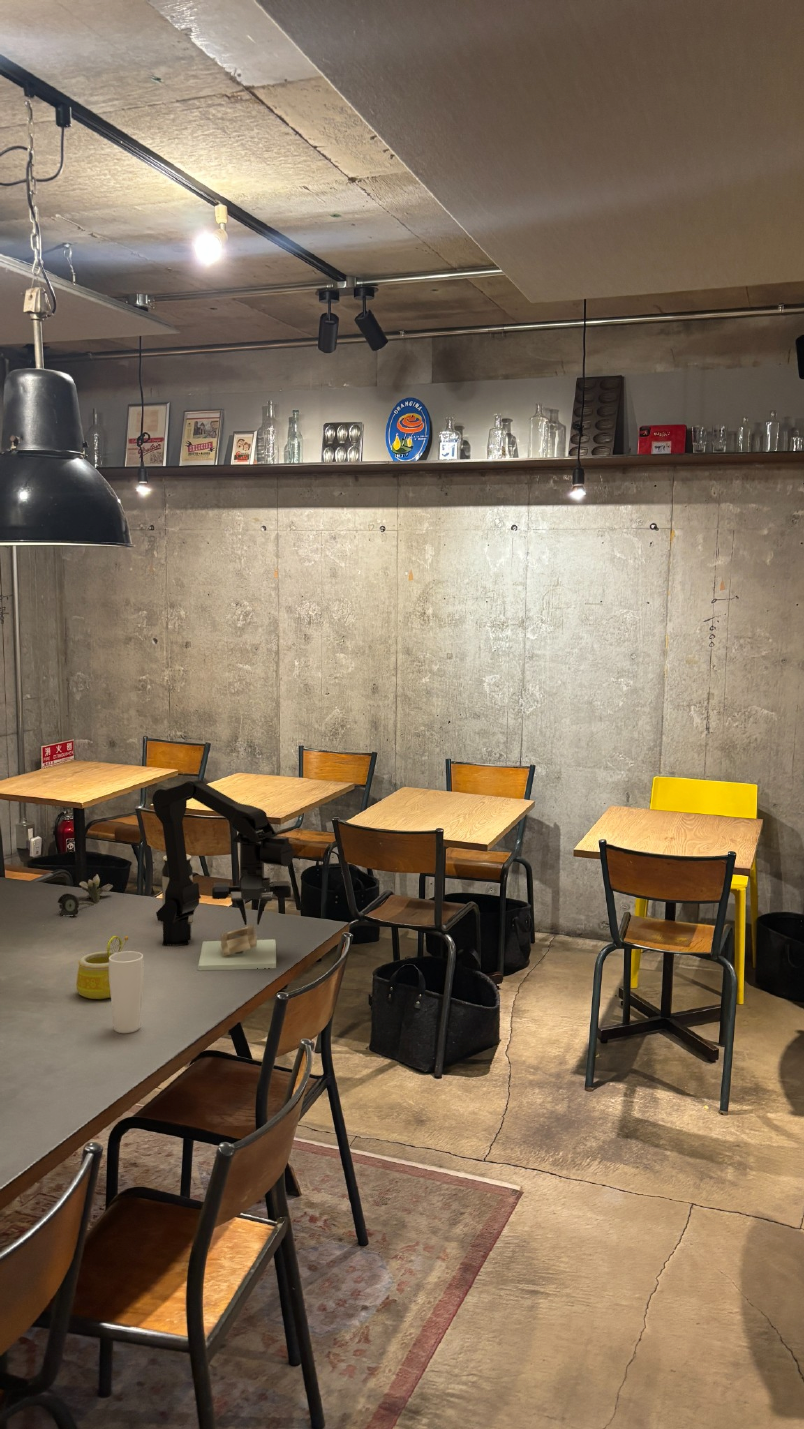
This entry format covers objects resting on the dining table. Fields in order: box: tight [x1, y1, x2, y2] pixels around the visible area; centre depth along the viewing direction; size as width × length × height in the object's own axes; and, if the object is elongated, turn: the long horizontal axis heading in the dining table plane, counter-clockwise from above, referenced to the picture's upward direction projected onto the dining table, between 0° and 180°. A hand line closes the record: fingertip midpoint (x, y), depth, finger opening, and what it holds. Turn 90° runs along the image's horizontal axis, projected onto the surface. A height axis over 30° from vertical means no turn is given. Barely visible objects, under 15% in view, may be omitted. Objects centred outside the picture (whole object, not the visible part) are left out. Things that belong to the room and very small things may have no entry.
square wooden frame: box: [220, 924, 258, 956], centre depth 251 cm, size 8×8×3 cm
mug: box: [76, 935, 129, 1000], centre depth 226 cm, size 13×11×12 cm
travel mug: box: [161, 853, 194, 923], centre depth 278 cm, size 8×8×18 cm
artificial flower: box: [57, 873, 114, 918], centre depth 293 cm, size 9×22×10 cm, turn 166°
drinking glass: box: [109, 950, 145, 1034], centre depth 206 cm, size 7×7×15 cm
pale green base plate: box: [197, 935, 277, 971], centre depth 251 cm, size 18×18×5 cm
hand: (251, 924), depth 251 cm, fingers open, 3 cm apart
